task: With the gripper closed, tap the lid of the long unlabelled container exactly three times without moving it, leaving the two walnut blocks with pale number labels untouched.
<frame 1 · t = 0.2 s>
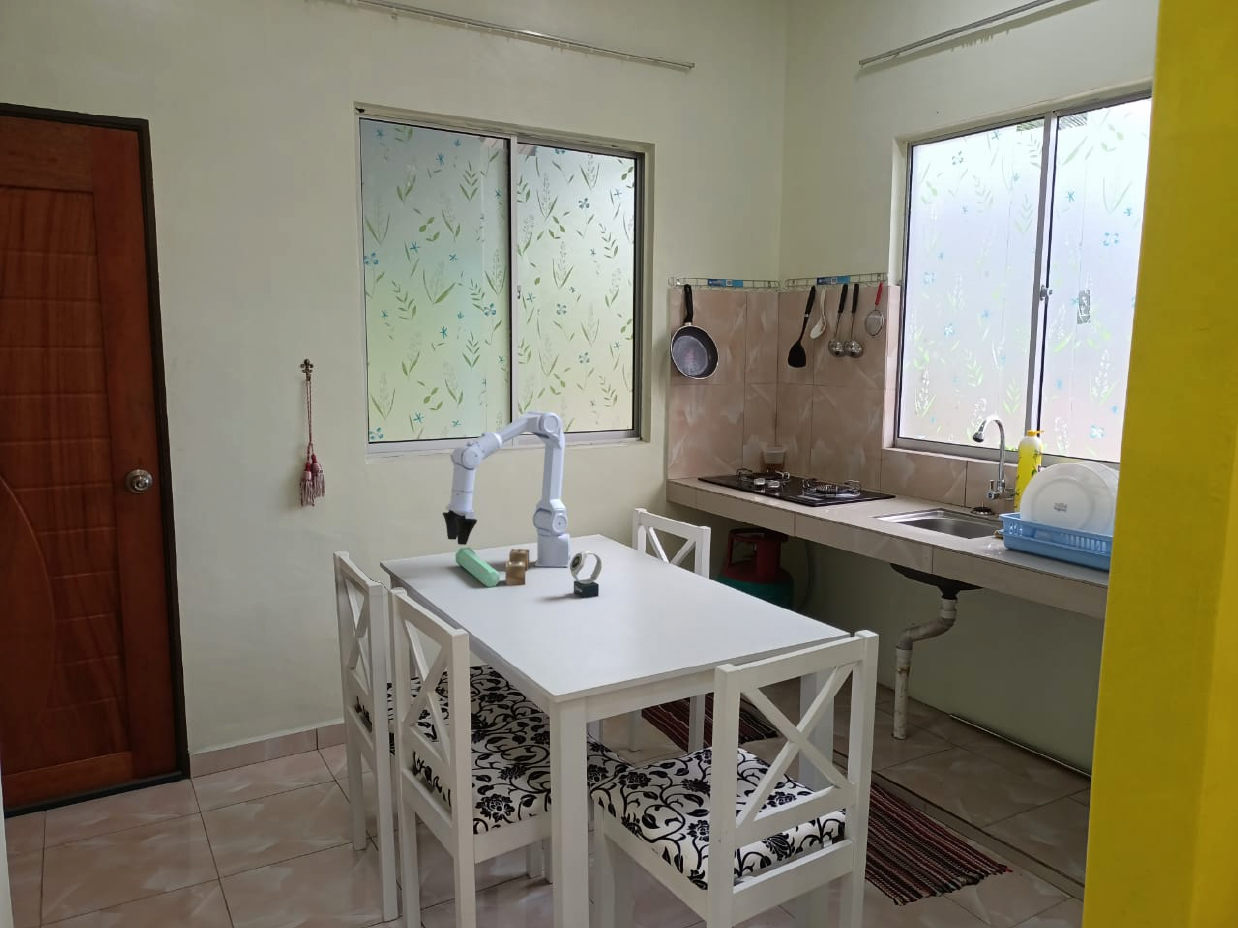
hand: (456, 541, 241), 10 cm above the table, tool pointing down, fingers open, 7 cm apart
watch: (585, 595, 230), on the table
labelled block a: (519, 568, 255), on the table
container: (477, 577, 246), on the table
labelled block b: (515, 582, 240), on the table
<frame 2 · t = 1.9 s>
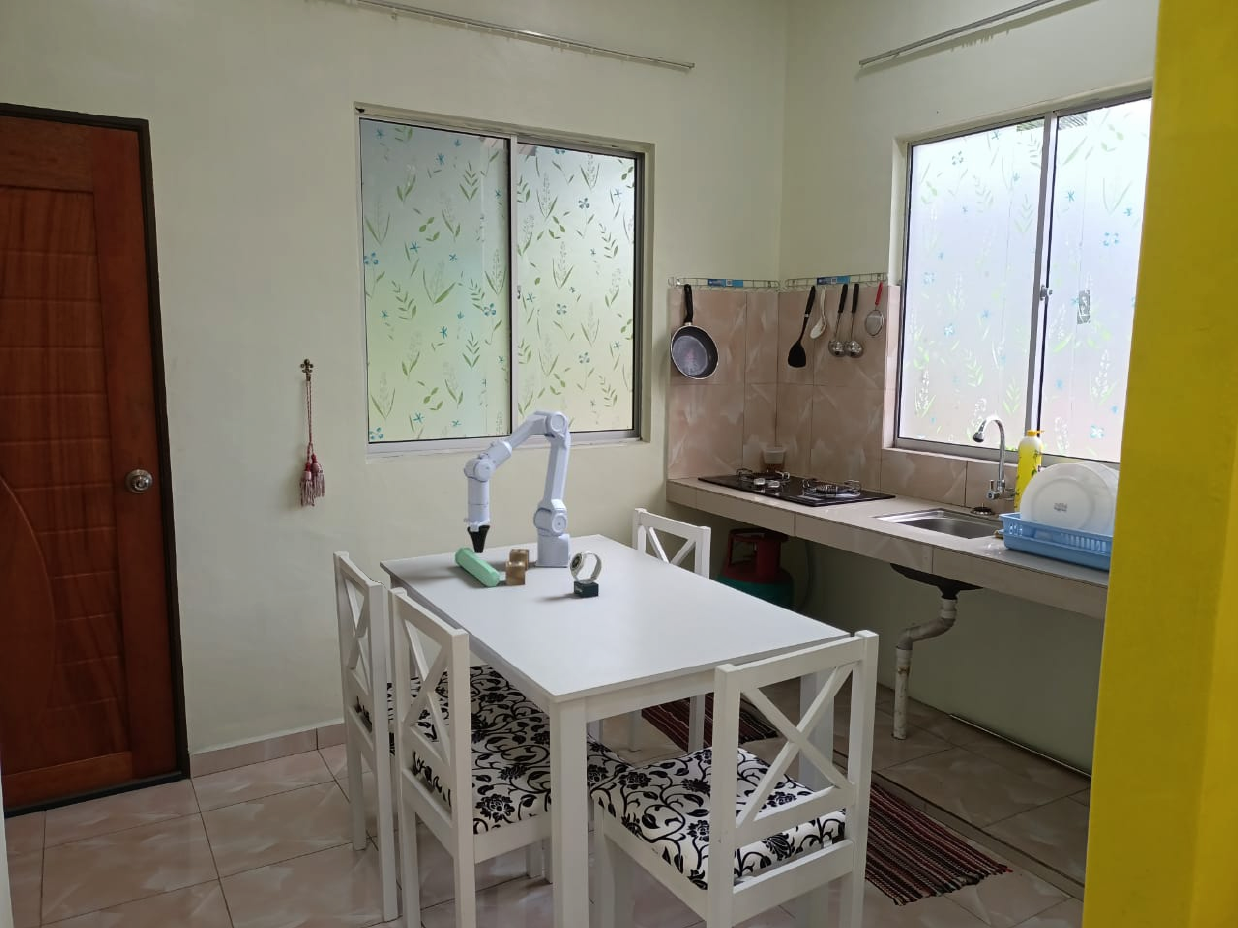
hand: (478, 552, 246), 6 cm above the table, tool pointing down, fingers closed
nothing on the table moved.
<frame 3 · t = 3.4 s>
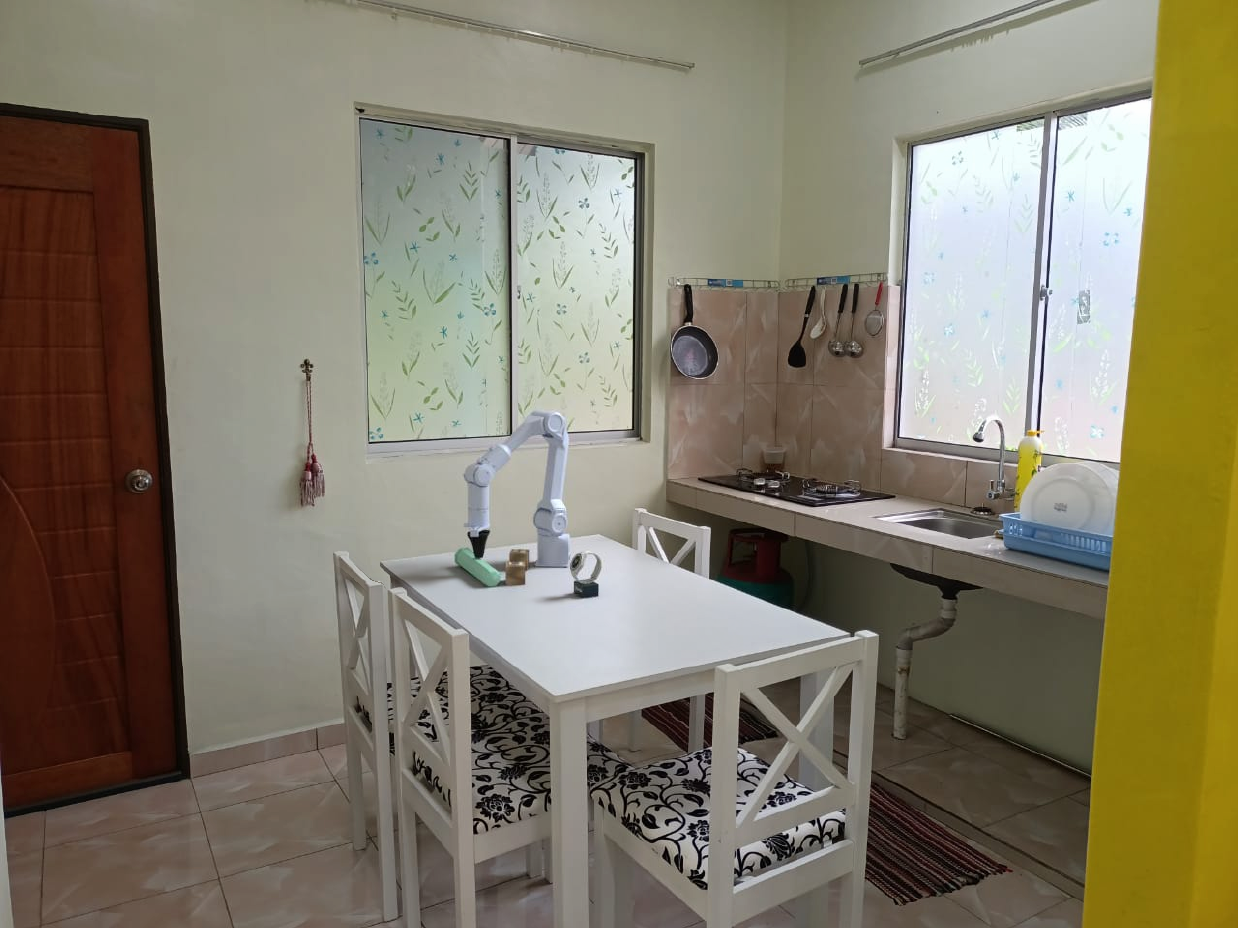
hand: (478, 557, 246), 5 cm above the table, tool pointing down, fingers closed
nothing on the table moved.
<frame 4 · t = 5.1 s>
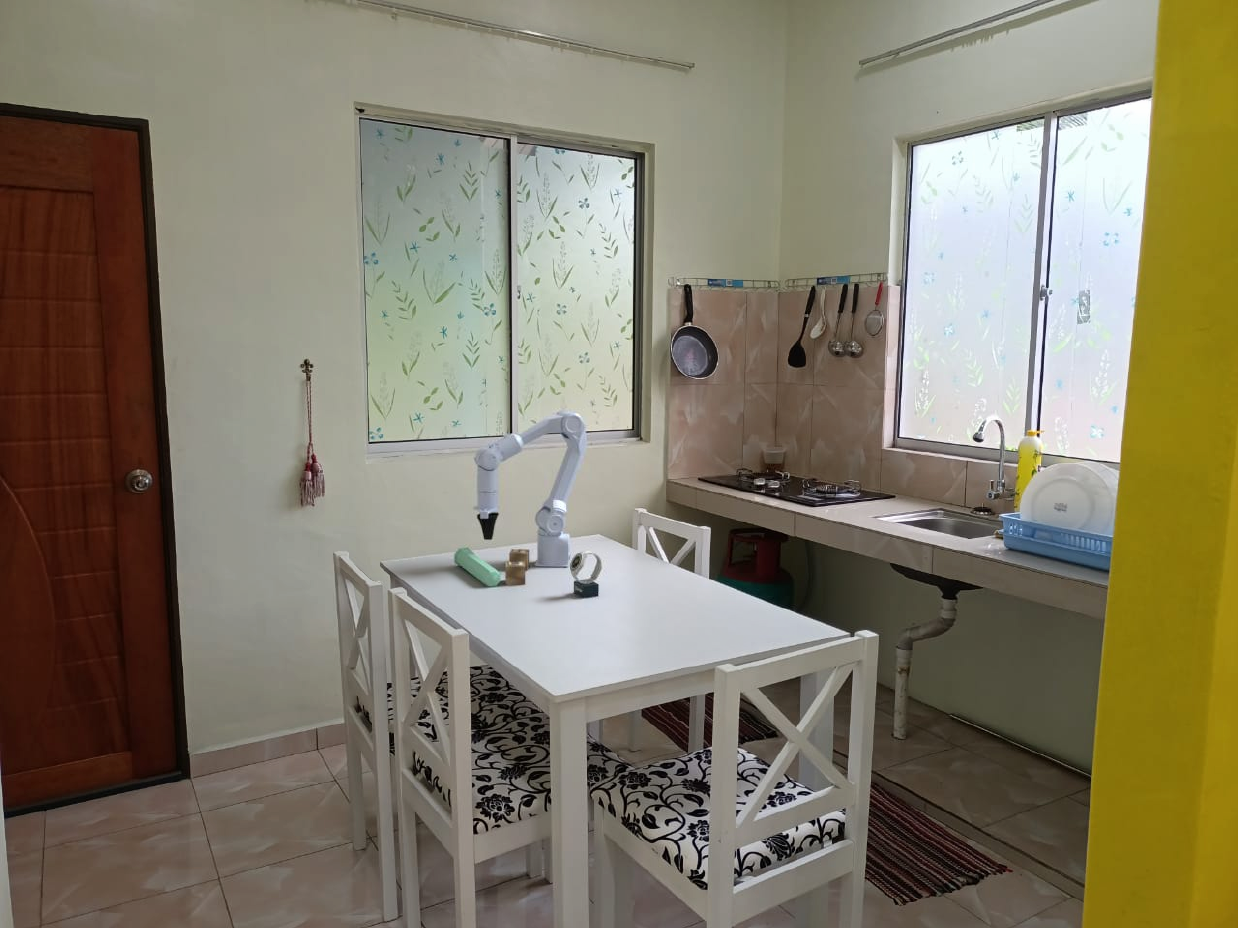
hand: (488, 539, 253), 8 cm above the table, tool pointing down, fingers closed
nothing on the table moved.
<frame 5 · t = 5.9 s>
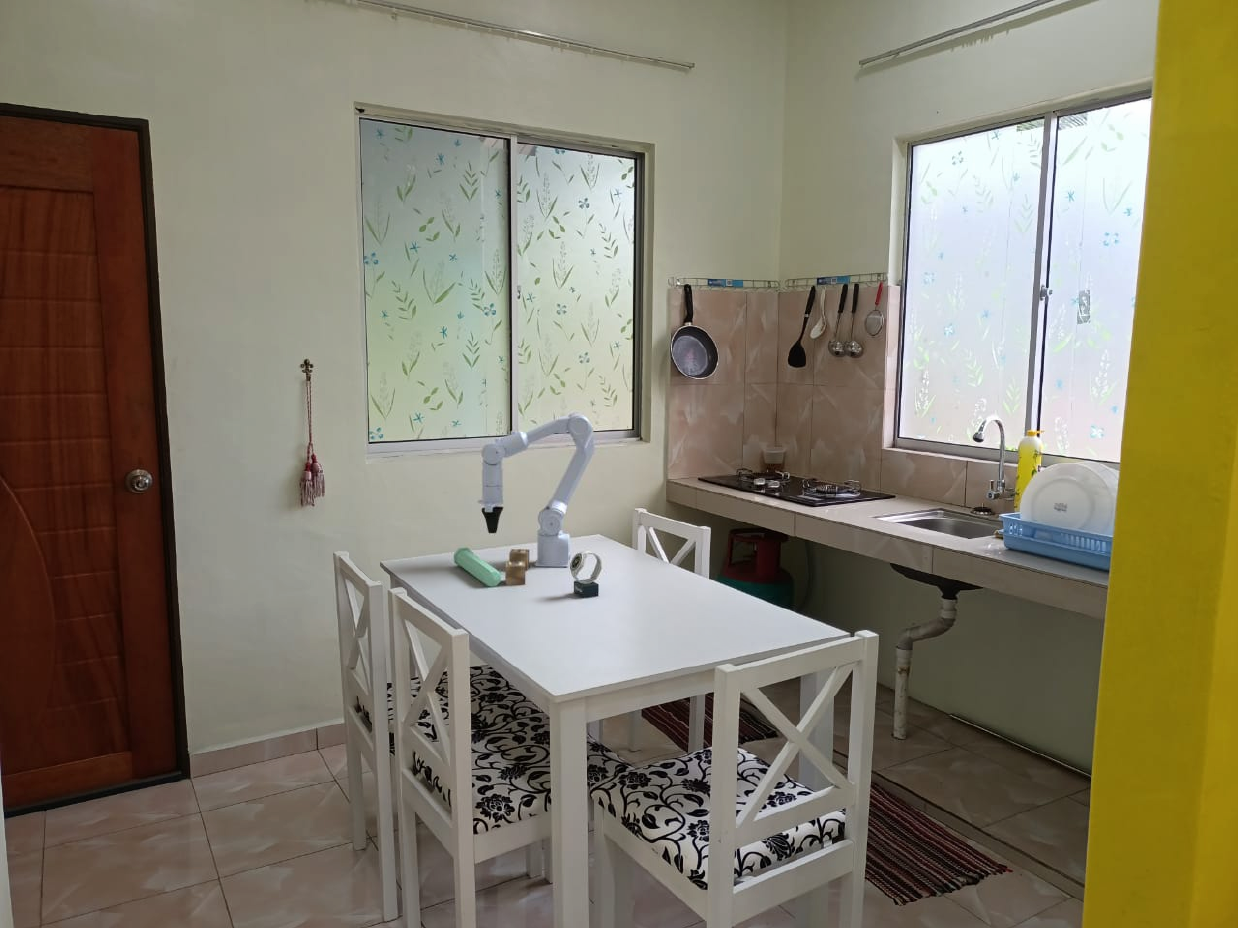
hand: (492, 532, 257), 9 cm above the table, tool pointing down, fingers closed
nothing on the table moved.
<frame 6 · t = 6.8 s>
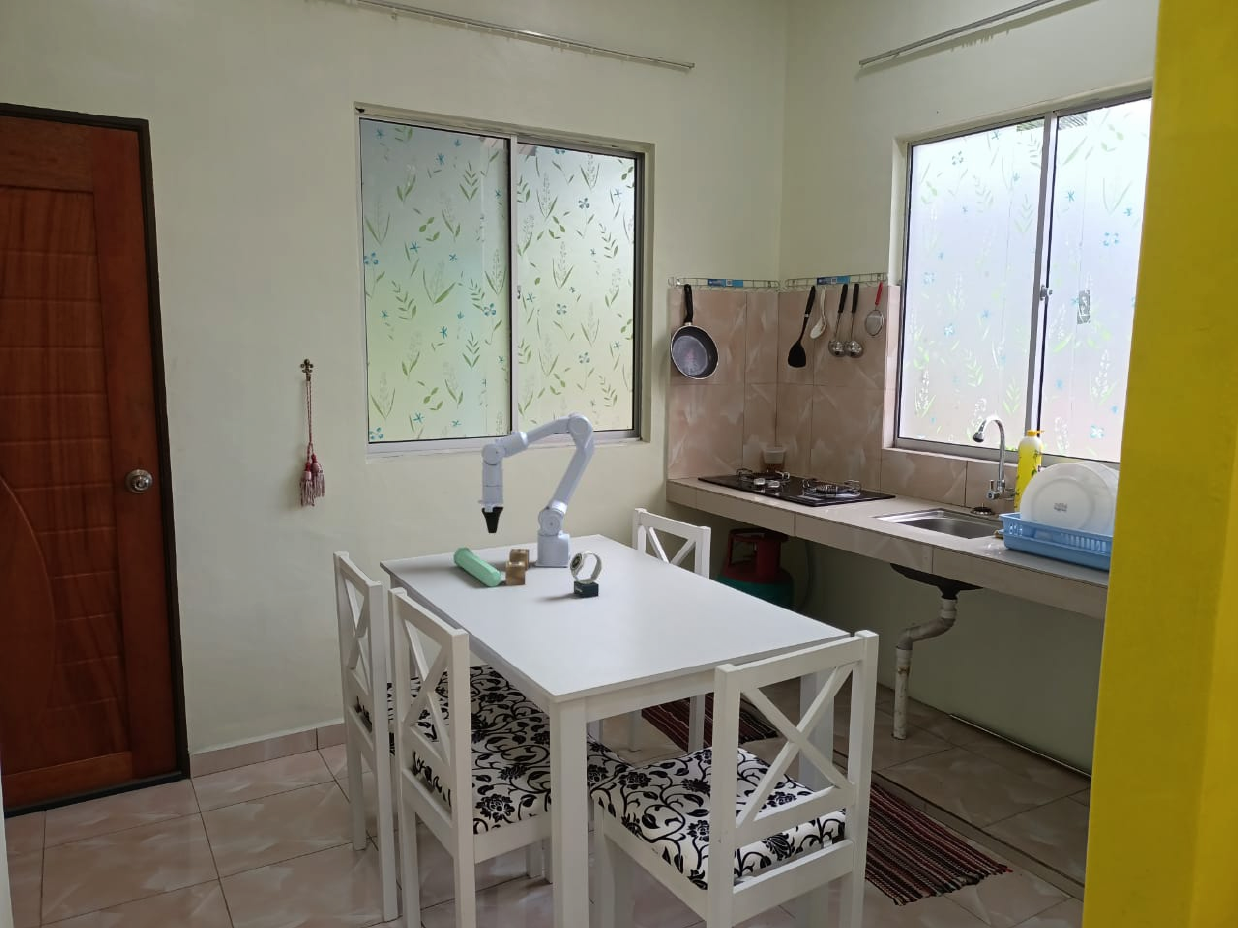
hand: (492, 532, 257), 9 cm above the table, tool pointing down, fingers closed
nothing on the table moved.
at the end: container moved 0.8 cm from its start; container tilted 2°; labelled block b moved 0.9 cm from its start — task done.
